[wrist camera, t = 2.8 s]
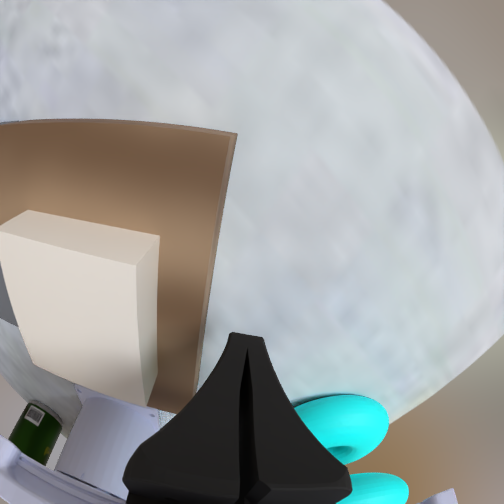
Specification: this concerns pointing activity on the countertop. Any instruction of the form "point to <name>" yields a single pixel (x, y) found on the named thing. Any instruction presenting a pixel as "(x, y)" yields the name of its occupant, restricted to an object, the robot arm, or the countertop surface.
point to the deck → (134, 211)
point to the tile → (85, 300)
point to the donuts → (354, 443)
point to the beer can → (37, 431)
